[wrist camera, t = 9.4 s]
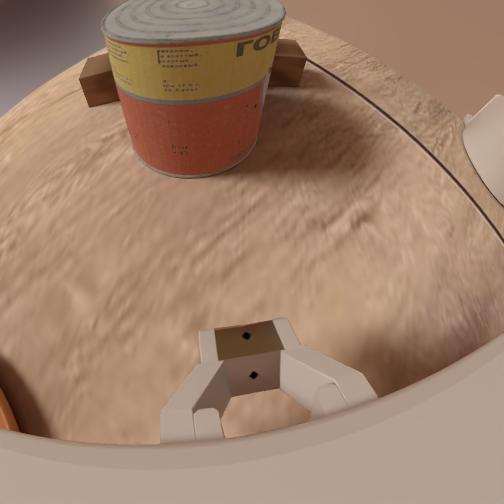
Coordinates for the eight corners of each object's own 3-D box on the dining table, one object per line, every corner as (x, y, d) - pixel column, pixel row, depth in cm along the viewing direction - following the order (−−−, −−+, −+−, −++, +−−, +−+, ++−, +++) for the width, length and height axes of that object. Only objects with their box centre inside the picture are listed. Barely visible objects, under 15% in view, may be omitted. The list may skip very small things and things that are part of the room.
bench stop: (288, 66, 28) (305, 3, 20) (297, 86, 27) (319, 17, 18) (95, 85, 24) (78, 21, 16) (89, 107, 23) (66, 38, 15)
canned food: (269, 173, 22) (309, 42, 11) (126, 186, 20) (77, 58, 9) (248, 87, 26) (266, -16, 15) (138, 95, 24) (121, -7, 13)
